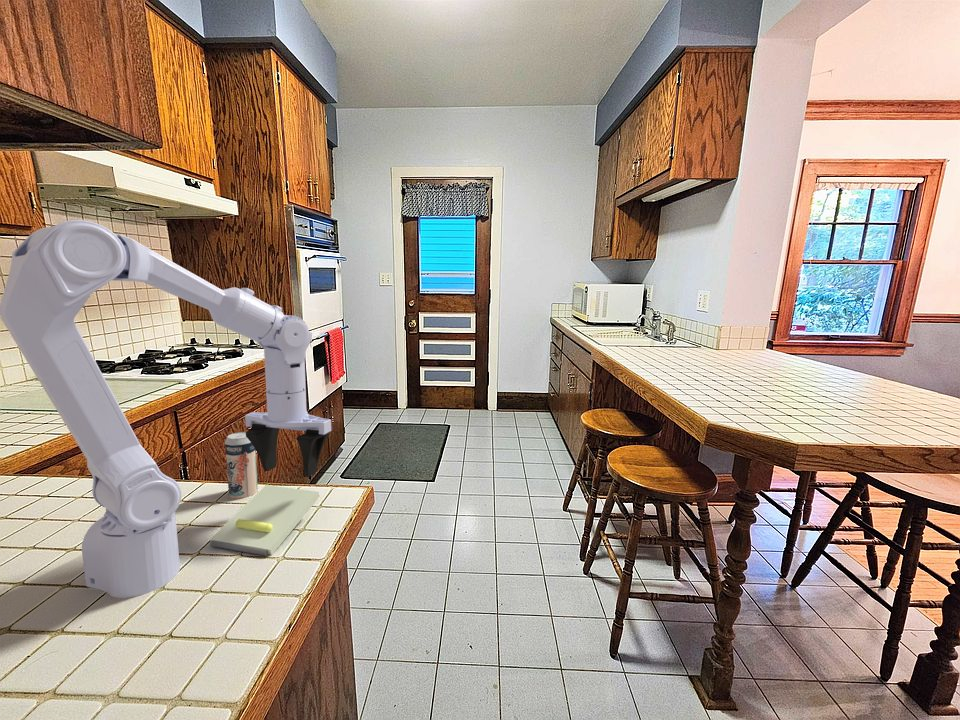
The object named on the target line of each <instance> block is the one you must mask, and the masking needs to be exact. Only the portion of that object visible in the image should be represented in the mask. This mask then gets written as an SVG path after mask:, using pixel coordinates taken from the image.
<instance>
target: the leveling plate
mask: <svg viewBox="0 0 960 720" xmlns="http://www.w3.org/2000/svg"><path fill="white" fill-rule="evenodd" d="M320 496H321V495H320V492H319V491H315V490H308V489H307V490H306V489H300V488H292V487H286V486H285V487H284V486H276V485H275V486H274V485H268V484H266V485H264V486H263V487H262V488H261V489H260V490H258V492H257V493H255V494H254V495H253V496H252V498H251V499H250V500H249V501H248V502H247V503H245V504H244V505H243V506H242V507H241V508H240V509H239V510H238V511H237V512H236V513H235V515H233V516H232V517H231V518H230V519H229V520H228V521H227V522H226V523H225V524H224V525H222V527H221V528H220V529H218V530H217V531H216V532H215V534H214V535H212V537H211V538H210V539H209V542H210V546H211V547H213V548H219V549H224V550H225V549H226V550H231V551H237V552H242V553H248V554H254V555H260V556H267V557H268V556H272V555H273V554H274V553H275V551H276V550H278V548H279V547H280V546H281V544H282V543H283V542H284V541H285V539H286V538H287V537H288V536H289V534H291V532H292V531H293V530H294V528H296V526H297V525H298V524H299V523H300V522H301V520H302V519H303V518H304V516H306V514H307V513H308V512H309V510H310V509H311V508H312V507H313V506H314V505H315V503H316V502H317V501H318V499H320V498H321V497H320Z"/></svg>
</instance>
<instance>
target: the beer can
mask: <svg viewBox="0 0 960 720" xmlns="http://www.w3.org/2000/svg"><path fill="white" fill-rule="evenodd" d="M246 432H247V431H239V432H233V433H231V434H229V435H227V437H226V439H225V441H224V445H225V457H226V471H227V472H226V473H227V475H226V476H227V486H228V487H227V488H228V498H230V499H233V500H239V499H240V500H241V499H247V498H249V497H254V496H255V495H256V494H257V493H258V492H259V490H258V489H259V488H258V474H257V473H258V472H257V456H256V454H257V451H256V449H255V448H254V446H253V445H252V443H251V442H250V441H249V439H248V438H247V437H246Z"/></svg>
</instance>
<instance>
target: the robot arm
mask: <svg viewBox="0 0 960 720" xmlns="http://www.w3.org/2000/svg"><path fill="white" fill-rule="evenodd" d="M10 263H11V264H10V268H9V272H8V275H7V278H6V279H7V280H6V283H5V287H4V289H3V292H2V296H1V300H0V319H1V321H2V323H3V324H4V326H5V327H6V330H8V332H9V334H10V336H11V338H12V339H13V340H14V342H15V344H16V345H17V347H18V349H19V350H20V353H21V354H22V355H23V357H24V359H25V360H26V362H27V363H28V365H29V367H30V368H31V370H32V372H33V373H34V375H35V377H36V378H37V380H38V382H39V383H40V385H41V386H42V388H43V390H44V391H45V393H46V395H47V396H48V398H49V400H50V401H51V404H53V406H54V408H55V409H56V411H57V412H58V415H59V416H60V418H61V419H62V421H63V423H64V424H65V426H66V428H67V429H68V431H69V433H70V434H71V436H72V437H73V439H74V440H75V442H76V444H77V446H78V448H79V449H80V450H81V452H82V454H83V455H84V457H85V459H86V465H87V469H88V471H89V472H90V474H91V476H92V489H91V492H92V497H93V499H94V501H95V502H96V503H97V504H98V505H99V506H101V507H103V508H105V512H104V514H103V516H102V517H101V518H99V519H98V520H96V521H95V522H94V523H93V524H92V525H90V527H89V528H88V529H87V530H86V533H85V534H84V537H83V539H82V542H81V554H82V564H83V571H84V573H83V574H84V580H85V581H84V582H85V586H86V587H87V588H91V589H96V590H101V591H103V592H105V593H107V594H108V595H110V596H111V597H112V598H116V599H117V598H118V599H126V598H127V599H128V598H135V597H138V596H139V597H140V596H142V595H145V594H150V593H152V592H153V591H156V590H159V589H160V588H162V587H164V586H166V585H167V584H169V583H170V582H171V581H173V580H174V579H175V578H176V577H177V576H178V575H179V573H180V571H181V564H180V563H181V562H180V555H179V554H180V551H179V539H178V529H177V517H176V516H177V515H176V511H177V510H178V508H179V506H180V503H181V500H182V488H181V486H180V484H179V483H178V482H177V481H176V480H175V479H174V478H172V477H170V476H168V475H166V474H164V473H163V472H162V471H161V470H160V468H159V466H158V465H157V462H156V461H155V460H154V459H153V458H152V457H151V455H150V454H149V453H148V452H147V451H146V450H145V448H144V447H143V445H141V443H140V441H139V439H138V437H137V436H136V434H135V431H133V428H132V426H131V425H130V422H129V421H128V418H127V416H126V415H125V413H124V411H123V410H122V408H121V406H120V404H119V403H118V401H117V399H116V396H115V395H114V393H113V391H112V389H111V387H110V386H109V384H108V381H107V380H106V378H105V376H104V374H103V373H102V371H101V368H100V367H99V365H98V363H97V361H96V360H95V357H94V356H93V354H92V353H91V350H90V348H89V346H88V344H87V343H86V341H85V339H84V338H83V336H82V334H81V332H80V330H79V328H78V327H77V325H76V323H75V318H76V317H77V316H78V314H79V312H80V311H81V309H82V308H83V306H85V304H86V302H87V301H88V299H90V297H91V295H92V294H93V293H95V292H97V291H98V290H99V289H101V288H102V287H104V286H106V285H107V284H109V283H110V282H111V281H114V282H115V281H116V282H139V283H144V284H147V285H149V286H151V287H153V288H156V289H157V290H158V289H159V290H160V291H163V292H165V293H167V294H170V295H173V296H175V297H177V298H180V299H182V300H184V301H187V302H189V303H191V304H194V305H196V306H198V307H200V308H204V309H206V310H207V311H209V315H210V317H211V319H212V321H213V322H214V324H216V325H219V326H220V327H223V328H225V329H228V330H230V331H232V332H235V333H237V334H239V335H241V336H243V337H245V338H248V339H251V340H252V341H255V342H256V343H257V344H258V345H259V346H260V347H261V348H262V349H263V355H264V372H265V374H264V378H265V389H266V390H265V394H266V412H264V411H263V412H257V411H253V412H249V413H247V414H245V415H244V420H245V427H248V428H250V429H248V430H247V431H245V432H246V437H247V438H248V439H249V441H250V442H251V443H252V445H253V446H254V448H255V451H256V454H257V455H258V457H259V460H260V463H261V465H262V470H263V471H264V472H269V471H271V470H273V469H275V468H277V463H278V462H277V461H278V451H277V449H278V448H277V447H278V439H279V438H278V437H279V433H280V429H283V430H293V431H303V432H305V433H303V434H301V435H299V436H297V437H296V441H297V444H298V446H299V448H300V452H301V457H302V469H303V471H302V472H303V475H304V477H305V478H310V477H311V476H313V475H314V474H316V473H317V469H318V465H319V460H320V455H321V453H322V451H323V448H324V445H325V443H326V441H327V439H328V437H329V436H330V432H332V419H329V418H323V417H320V416H315V415H312V414H309V412H308V411H307V389H306V387H307V386H306V383H307V382H306V363H305V362H306V361H305V360H306V358H307V349H308V347H309V346H310V344H311V342H312V338H313V332H310V331H309V327H308V325H307V323H306V322H305V321H304V319H302V318H301V317H300V316H297V315H290V314H289V315H288V314H284V312H283V307H281V306H279V305H276V304H275V305H274V304H273V305H271V304H268V303H267V302H265V301H263V300H261V299H260V298H257V297H256V296H254V295H255V291H254V290H252V289H250V288H248V287H242V288H238V287H237V286H235V287H234V286H233V287H230V288H225V289H221V288H219V287H218V286H216V285H214V284H212V283H210V282H209V281H207V280H206V279H203V278H202V277H200V276H198V275H196V274H195V273H193V272H192V271H189V270H188V269H186V268H184V267H182V266H181V265H179V264H177V263H175V262H174V261H172V260H170V259H168V258H167V257H165V256H163V255H162V254H159V253H157V252H156V251H154V250H153V249H150V248H149V247H147V246H146V245H143V244H142V243H140V242H138V241H137V240H135V239H134V238H131V237H128V236H125V235H124V234H115V233H114V232H113V231H112V230H110V229H109V228H108V227H107V226H106V227H105V226H104V225H102V224H100V223H97V222H94V221H91V220H86V219H85V220H84V219H70V220H65V221H62V222H60V223H59V222H58V223H57V224H55V225H53V226H47V227H43V228H39V229H37V230H36V231H33V232H32V233H31V234H29V235H28V237H27V238H25V240H24V241H22V243H21V244H20V245H18V247H17V248H16V249H15V250H14V251H13V252H12V254H11V261H10Z"/></svg>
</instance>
